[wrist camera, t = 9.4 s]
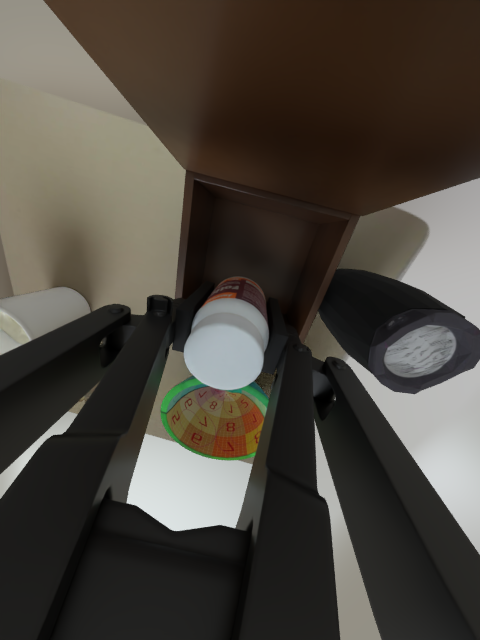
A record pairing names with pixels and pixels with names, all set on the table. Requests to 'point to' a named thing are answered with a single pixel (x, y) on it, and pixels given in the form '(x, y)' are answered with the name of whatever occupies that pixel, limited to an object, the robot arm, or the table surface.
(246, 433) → the bowl
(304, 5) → the lid
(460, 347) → the portable speaker
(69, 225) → the table surface
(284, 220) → the chest
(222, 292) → the pill bottle
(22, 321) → the candle holder
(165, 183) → the table surface
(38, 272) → the table surface
